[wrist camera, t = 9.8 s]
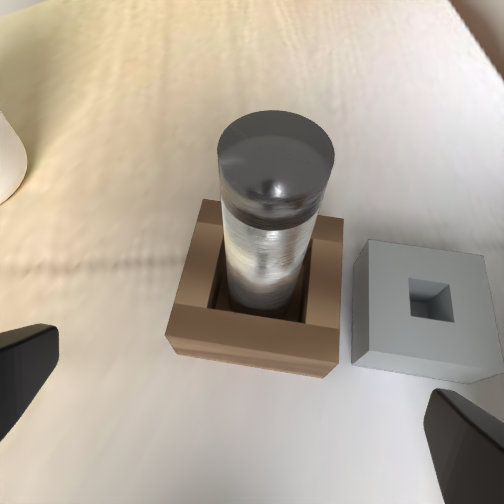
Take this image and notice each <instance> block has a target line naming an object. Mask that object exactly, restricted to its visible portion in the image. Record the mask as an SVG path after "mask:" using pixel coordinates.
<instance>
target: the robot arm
mask: <svg viewBox="0 0 504 504" xmlns="http://www.w3.org/2000/svg"><path fill="white" fill-rule="evenodd" d="M58 360H59V332H58V329H57V327H56V326H53V325H47V324H35V325H30V326H26V327H22V328H18V329H14V330H10V331H6V332H2V333H0V442H1V441H2V439H3V438H4V437H5V436H6V435H7V433H8V432H9V431H10V430H11V429H12V427H13V426H14V425H15V424H16V422H17V421H18V420H19V418H20V417H21V416H22V414H23V413H24V412H25V410H26V409H27V407H28V406H29V404H30V403H31V402H32V400H33V399H34V397H35V396H36V394H37V393H38V391H39V390H40V389H41V387H42V386H43V384H44V383H45V381H46V380H47V378H48V377H49V376H50V374H51V373H52V371H53V370H54V368H55V367H56V365H57V363H58ZM424 431H425V434H426V438H427V442H428V446H429V449H430V453H431V457H432V460H433V464H434V468H435V471H436V475H437V479H438V483H439V486H440V489H441V493H442V496H443V499H444V502H445V504H504V423H503V422H501V421H500V420H498V419H496V418H495V417H493V416H492V415H490V414H489V413H487V412H486V411H484V410H483V409H481V408H480V407H478V406H476V405H475V404H473V403H472V402H470V401H469V400H467V399H466V398H464V397H463V396H461V395H459V394H458V393H456V392H455V391H452V390H446V389H440V388H436V389H434V390H433V391H432V393H431V396H430V399H429V403H428V406H427V409H426V413H425V416H424Z"/></svg>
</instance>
